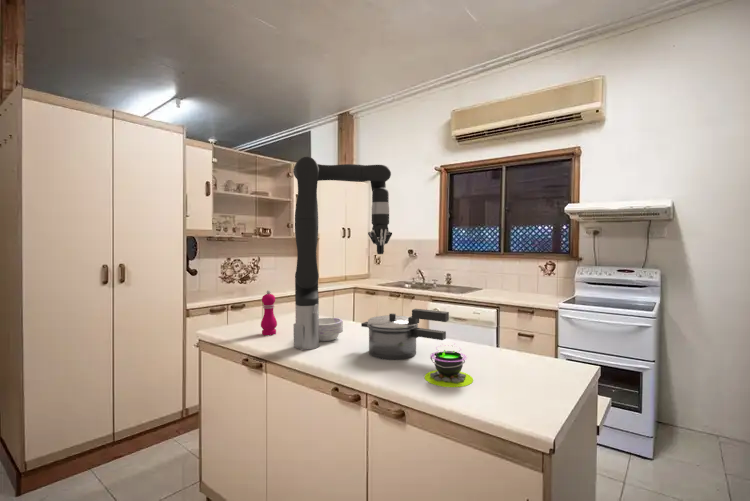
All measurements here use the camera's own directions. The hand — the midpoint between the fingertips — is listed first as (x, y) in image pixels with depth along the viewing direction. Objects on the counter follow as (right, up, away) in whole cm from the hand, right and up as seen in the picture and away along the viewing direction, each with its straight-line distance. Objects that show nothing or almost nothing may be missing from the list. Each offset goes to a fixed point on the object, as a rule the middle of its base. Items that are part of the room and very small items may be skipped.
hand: (380, 254), depth 166 cm
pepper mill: (-51, -37, +12) cm, 64 cm away
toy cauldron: (+21, -39, -44) cm, 62 cm away
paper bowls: (-24, -37, +4) cm, 44 cm away
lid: (+10, -26, -21) cm, 35 cm away
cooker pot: (+8, -38, -19) cm, 43 cm away
